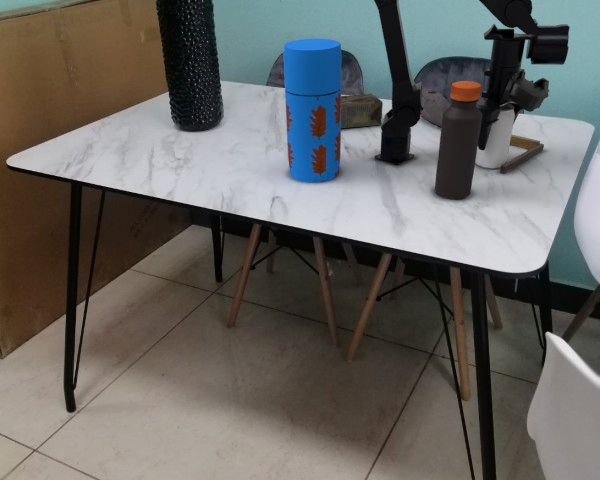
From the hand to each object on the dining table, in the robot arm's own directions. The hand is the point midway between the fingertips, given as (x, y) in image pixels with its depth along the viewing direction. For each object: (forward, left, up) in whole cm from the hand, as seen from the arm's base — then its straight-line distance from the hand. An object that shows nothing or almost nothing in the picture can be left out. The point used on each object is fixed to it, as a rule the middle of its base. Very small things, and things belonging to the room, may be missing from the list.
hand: (493, 143), depth 118 cm
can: (0, 0, -5) cm, 5 cm away
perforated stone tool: (+15, +24, -5) cm, 29 cm away
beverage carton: (-1, +41, -5) cm, 41 cm away
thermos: (-28, +25, -5) cm, 37 cm away
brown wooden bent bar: (+5, 0, -4) cm, 7 cm away
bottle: (-18, -2, -5) cm, 18 cm away
